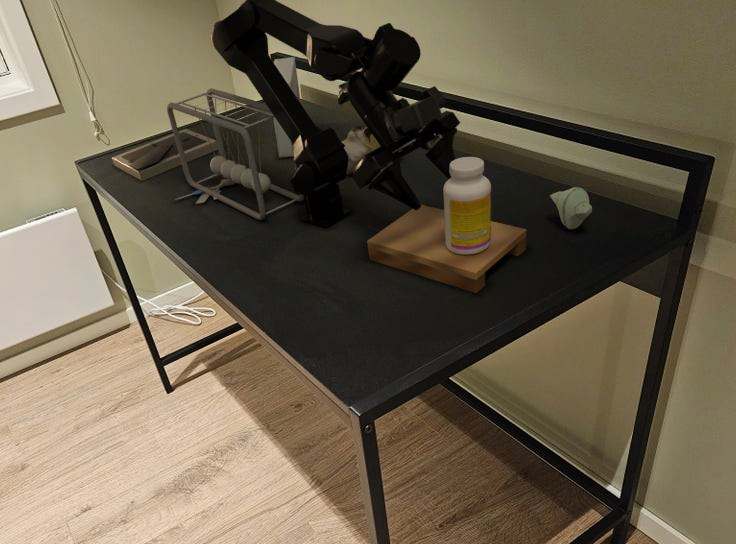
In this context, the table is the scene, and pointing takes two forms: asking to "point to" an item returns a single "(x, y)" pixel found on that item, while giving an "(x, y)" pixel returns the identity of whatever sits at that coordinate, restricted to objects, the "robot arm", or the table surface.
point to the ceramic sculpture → (358, 147)
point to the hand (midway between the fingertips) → (439, 195)
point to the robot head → (572, 206)
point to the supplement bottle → (467, 207)
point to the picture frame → (163, 154)
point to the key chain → (204, 197)
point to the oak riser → (441, 249)
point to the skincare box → (290, 75)
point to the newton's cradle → (220, 163)
